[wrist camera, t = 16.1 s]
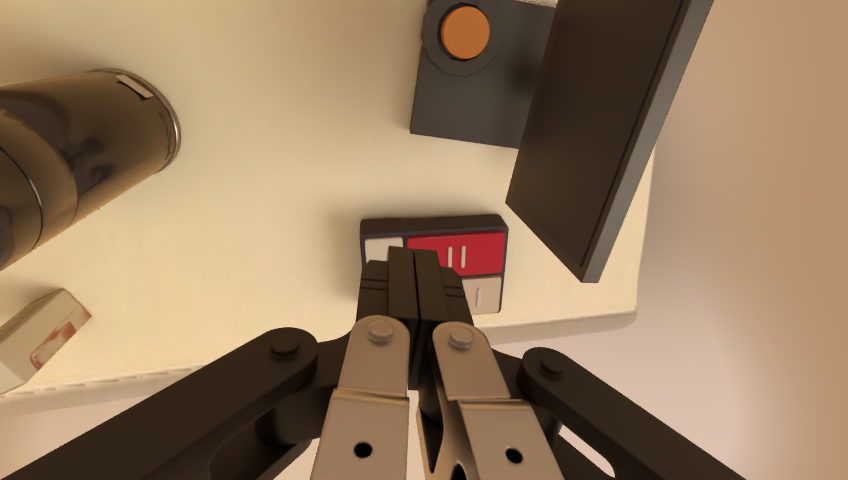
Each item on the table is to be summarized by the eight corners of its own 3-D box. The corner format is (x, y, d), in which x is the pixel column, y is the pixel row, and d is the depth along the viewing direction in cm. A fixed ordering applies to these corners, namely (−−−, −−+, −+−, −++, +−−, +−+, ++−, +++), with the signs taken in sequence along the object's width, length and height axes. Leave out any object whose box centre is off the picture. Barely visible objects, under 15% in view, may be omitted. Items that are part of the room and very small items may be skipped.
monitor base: (406, 130, 40) (408, 138, 37) (427, -19, 34) (430, -22, 32) (557, 151, 42) (568, 160, 39) (599, 14, 36) (615, 13, 34)
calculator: (503, 317, 46) (367, 329, 45) (492, 295, 50) (367, 305, 49) (511, 228, 41) (359, 238, 40) (499, 211, 45) (359, 219, 43)
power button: (437, 53, 34) (439, 54, 33) (444, 3, 33) (447, 2, 31) (479, 60, 35) (484, 62, 33) (488, 11, 33) (494, 11, 31)
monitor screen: (503, 202, 35) (579, 283, 25) (570, -55, 27) (725, -96, 16) (524, 204, 35) (607, 283, 25) (596, -49, 27) (762, -84, 17)
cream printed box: (58, 332, 48) (-19, 403, 39) (27, 303, 46) (-62, 372, 37) (96, 316, 47) (27, 385, 38) (66, 287, 45) (-14, 352, 36)
